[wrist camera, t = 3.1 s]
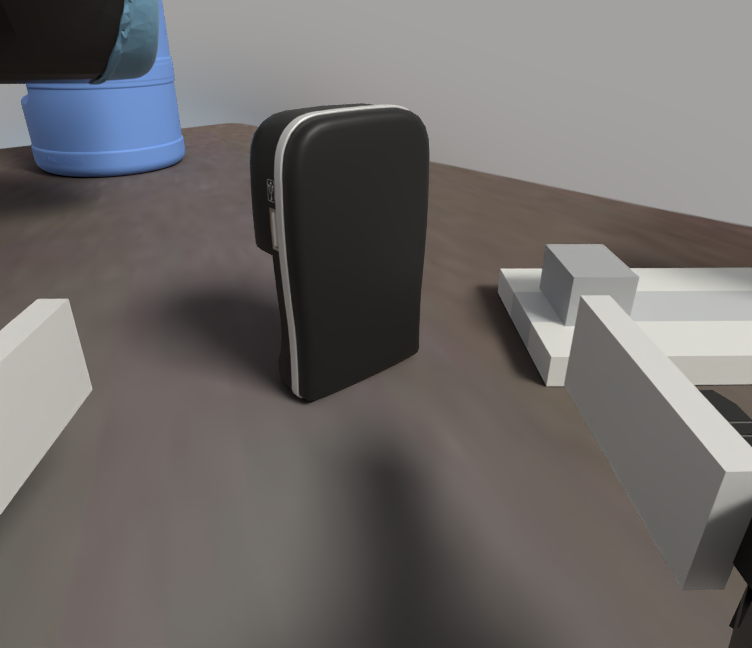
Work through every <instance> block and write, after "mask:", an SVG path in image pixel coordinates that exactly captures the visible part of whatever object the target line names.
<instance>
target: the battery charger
mask: <svg viewBox="0 0 752 648" xmlns="http://www.w3.org/2000/svg"><path fill="white" fill-rule="evenodd" d="M250 175H251V194H252V209H253V220H254V230H255V240H256V244H257V247H259V248H260V249H262V250H263V251H265V252H267V253H269V254H271V255H273V264H274V272H275V280H276V288H277V295H278V302H279V309H280V316H281V326H282V347H281V353H280V357H279V372H280V375H281V378H282V380H283V381H284V382H285V384H286V385H287V386H288V387H290V388H291V389H292V391H293V393H294V394H295V395H297V396H298V397H300V398H304V399H306V400H307V401H314V400H316V399H319V398H321V397H324V396H326V395H329V394H331V393H334V392H336V391H339V390H341V389H343V388H346V387H348V386H350V385H352V384H355V383H357V382H359V381H361V380H364V379H366V378H368V377H370V376H372V375H374V374H376V373H379V372H381V371H383V370H385V369H387V368H389V367H391V366H393V365H395V364H397V363H399V362H401V361H403V360H404V359H406V358H408V357H410V356H412V355H414V354H415V353H417V352H418V349H419V321H420V300H421V286H422V276H423V265H424V253H425V240H426V228H427V211H428V189H429V139H428V135H427V131H426V127H425V125H424V124H423V122H422V121H421V119H420V118H419V117H418V116H417V115H416V114H414V113H413V112H411V111H409V110H408V109H406V108H404V107H401V106H397V105H386V104H385V105H371V104H347V105H330V106H318V107H310V108H302V109H294V110H287V111H283V112H279V113H276V114H273V115H272V116H270V117H269V118H267V119H266V120H265V121H263V122H262V123H261V125H260V126H259V128H258V129H257V131H256V132H255V134H254V137H253V140H252V144H251V151H250Z"/></svg>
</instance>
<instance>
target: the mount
mask: <svg viewBox="0 0 752 648" xmlns="http://www.w3.org/2000/svg"><path fill="white" fill-rule="evenodd" d="M498 294H499V296H500V298H501V300H502V302H503V304H504V305H505V307H506V309H507V311H508V313H509V315H510V317H511V319H512V321H513V323H514V325H515V327H516V329H517V331H518V333H519V334H520V336H521V338H522V340H523V342H524V344H525V346H526V348H527V350H528V352H529V354H530V356H531V358H532V360H533V361H534V363H535V365H536V367H537V369H538V371H539V373H540V375H541V377H542V379H543V381H544V383H545V385H546V386H564V381H565V376H566V371H567V365H568V360H569V355H570V349H571V344H572V338H573V333H574V328H575V322H576V317H577V312H578V306H579V301H580V295H610V296H611V297H612V298H613V299H614V300H615V302H616V303H617V304H618V305H619V306H620V307H621V308H622V309H623V310H624V311H625V312H626V313H627V314H628V315H629V317H630V318H631V319H632V320H633V321H634V322H635V323H636V324H637V325H638V326H639V327H640V328H641V329H642V330H643V331H644V333H645V334H646V335H647V336H648V337H649V338H650V339H651V340H652V341H653V342H654V343H655V344H656V345H657V346H658V348H659V349H660V350H661V351H662V352H663V353H664V354H665V355H666V356H667V357H668V358H669V359H670V360H671V361H672V363H673V364H674V365H675V366H676V367H677V368H678V369H679V370H680V371H681V372H682V373H683V374H684V375H685V376H686V378H687V379H688V380H689V381H690V382H691V383H692V384H693V385H735V384H752V268H629V267H628V266H627V265H625V264H624V263H623V262H622V261H621V260H620V259H619V258H618V257H617V256H615V255H614V254H613V253H612V252H611V251H610V250H609V249H608V248H607V247H605V246H604V245H603V244H546V247H545V254H544V260H543V267H542V269H500V276H499V285H498Z"/></svg>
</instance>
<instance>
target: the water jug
mask: <svg viewBox="0 0 752 648" xmlns="http://www.w3.org/2000/svg"><path fill="white" fill-rule="evenodd" d="M174 80H175V79H174V69H173V62H172V58H171V56H170V52H169V46H168V38H167V31H166V24H165V17H164V11H163V4H162V0H159V41H158V51H157V56H156V60H155V63H154V65H153V67H152V68H151V70H150V71H149V72H148V73H147V74H146V75H144V76H142V77H140V78H136V79H125V80H112V81H106V82H104V83H101V84H99V85H91V84H89V83H51V84H26V87H27V91H28V95H26V96H24V97H23V98H22V100H21V104H22V108H23V112H24V116H25V119H26V123H27V127H28V131H29V135H30V138H31V142H32V144H31V148H32V152H33V156H34V160H35V162H36V164H37V165H38V166H39V167H40V168H41V169H43V170H44V171H46V172H49V173H52V174H57V175H63V176H73V177H108V176H121V175H130V174H138V173H144V172H150V171H154V170H159V169H162V168H166V167H169V166H171V165H174V164H176V163H177V162H179V161H180V160H181V159H182V158H183V157H184V154H185V145H184V139H183V136H182V134H181V127H180V121H179V114H178V107H177V100H176V93H175V86H174Z"/></svg>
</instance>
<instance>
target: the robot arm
mask: <svg viewBox="0 0 752 648" xmlns="http://www.w3.org/2000/svg"><path fill="white" fill-rule="evenodd" d="M158 41H159V0H0V84H51V83H89V84H91V85H99V84H101V83H104V82H106V81H112V80H125V79H136V78H140V77H142V76H144V75H146V74H147V73H148V72H149V71H150V70H151V68H152V67H153V65H154V63H155V60H156V56H157V51H158ZM564 386H565V387H566V389H567V391H568V393H569V394H570V396H571V398H572V400H573V401H574V403H575V405H576V407H577V408H578V410H579V412H580V413H581V415H582V417H583V419H584V420H585V422H586V424H587V426H588V427H589V429H590V431H591V433H592V434H593V436H594V438H595V440H596V441H597V443H598V445H599V447H600V448H601V450H602V452H603V454H604V455H605V457H606V459H607V461H608V462H609V464H610V466H611V468H612V469H613V471H614V473H615V475H616V476H617V478H618V480H619V482H620V483H621V485H622V487H623V489H624V490H625V492H626V494H627V495H628V497H629V499H630V501H631V502H632V504H633V506H634V508H635V509H636V511H637V513H638V515H639V516H640V518H641V520H642V522H643V523H644V525H645V527H646V529H647V530H648V532H649V534H650V536H651V537H652V539H653V541H654V543H655V544H656V546H657V548H658V550H659V551H660V553H661V555H662V557H663V558H664V560H665V562H666V564H667V565H668V567H669V569H670V571H671V572H672V574H673V576H674V578H675V579H676V581H677V583H678V584H679V586H680V588H681V590H716V589H724V588H725V586H726V583H727V581H728V578H729V576H730V574H731V571H732V569H733V567H734V566H735V567H736V568H737V570H738V571H739V573H740V574H741V576H742V577H743V578H744V580H745V581H746V583H747V584H748V585H747V587H746V589H745V592H744V594H743V596H742V598H741V601H740V603H739V605H738V607H737V609H736V612H735V614H734V616H733V618H732V621H731V623H730V625H729V626H730V627H731V628H733V633H732V636H731V640H730V644H729V648H752V420H751V419H750V418H749V417H748V416H747V415H746V414H745V413H744V412H743V411H742V410H741V409H740V408H739V407H738V406H737V405H736V404H735V403H733V402H732V401H730V400H728V399H727V398H725V397H723V396H722V395H720V394H718V393H716V392H715V391H713V390H698V389H697V388H696V387H695V386H694V385H693V384H692V383H691V382H690V381H689V380H688V379H687V378H686V376H685V375H684V374H683V373H682V372H681V371H680V370H679V369H678V368H677V367H676V366H675V365H674V364H673V363H672V361H671V360H670V359H669V358H668V357H667V356H666V355H665V354H664V353H663V352H662V351H661V350H660V349H659V348H658V346H657V345H656V344H655V343H654V342H653V341H652V340H651V339H650V338H649V337H648V336H647V335H646V334H645V333H644V331H643V330H642V329H641V328H640V327H639V326H638V325H637V324H636V323H635V322H634V321H633V320H632V319H631V318H630V317H629V315H628V314H627V313H626V312H625V311H624V310H623V309H622V308H621V307H620V306H619V305H618V304H617V303H616V302H615V300H614V299H613V298H612V297H611V296H610V295H580V301H579V306H578V312H577V317H576V322H575V328H574V333H573V338H572V344H571V349H570V355H569V360H568V365H567V371H566V376H565V381H564ZM92 390H93V389H92V386H91V382H90V378H89V374H88V371H87V367H86V363H85V359H84V356H83V352H82V348H81V344H80V341H79V337H78V333H77V329H76V326H75V322H74V318H73V314H72V311H71V307H70V303H69V300H68V299H37V300H36V301H35V302H34V303H32V304H31V305H30V306H29V307H28V308H26V309H25V310H24V311H23V312H22V313H21V314H19V315H18V316H17V317H16V318H15V319H13V320H12V321H11V322H10V323H9V324H8V325H6V326H5V327H4V328H3V329H2V330H0V515H1V513H2V512H3V511H4V509H5V508H6V506H7V505H8V504H9V502H10V501H11V500H12V498H13V497H14V496H15V494H16V493H17V492H18V490H19V489H20V487H21V486H22V485H23V483H24V482H25V481H26V479H27V478H28V477H29V475H30V474H31V473H32V471H33V470H34V468H35V467H36V466H37V464H38V463H39V462H40V460H41V459H42V458H43V456H44V455H45V453H46V452H47V451H48V449H49V448H50V447H51V445H52V444H53V443H54V441H55V440H56V439H57V437H58V436H59V434H60V433H61V432H62V430H63V429H64V428H65V426H66V425H67V424H68V422H69V421H70V419H71V418H72V417H73V415H74V414H75V413H76V411H77V410H78V409H79V407H80V406H81V405H82V403H83V402H84V400H85V399H86V398H87V396H88V395H89V394H90V392H91V391H92Z"/></svg>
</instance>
